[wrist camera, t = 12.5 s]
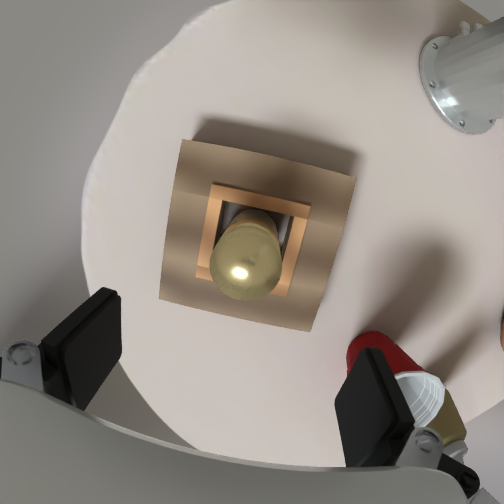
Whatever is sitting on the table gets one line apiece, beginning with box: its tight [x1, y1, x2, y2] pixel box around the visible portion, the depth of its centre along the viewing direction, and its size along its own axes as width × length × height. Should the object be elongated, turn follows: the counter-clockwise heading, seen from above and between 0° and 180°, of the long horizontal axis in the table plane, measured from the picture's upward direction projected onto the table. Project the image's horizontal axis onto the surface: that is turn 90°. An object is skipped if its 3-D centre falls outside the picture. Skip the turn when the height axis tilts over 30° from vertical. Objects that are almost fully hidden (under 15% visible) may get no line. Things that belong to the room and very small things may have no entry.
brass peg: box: [209, 209, 282, 301], centre depth 25 cm, size 5×5×10 cm
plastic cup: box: [346, 331, 445, 429], centre depth 27 cm, size 11×11×12 cm
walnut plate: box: [159, 139, 356, 332], centre depth 28 cm, size 16×16×3 cm
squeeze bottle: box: [425, 388, 468, 465], centre depth 27 cm, size 8×8×18 cm
